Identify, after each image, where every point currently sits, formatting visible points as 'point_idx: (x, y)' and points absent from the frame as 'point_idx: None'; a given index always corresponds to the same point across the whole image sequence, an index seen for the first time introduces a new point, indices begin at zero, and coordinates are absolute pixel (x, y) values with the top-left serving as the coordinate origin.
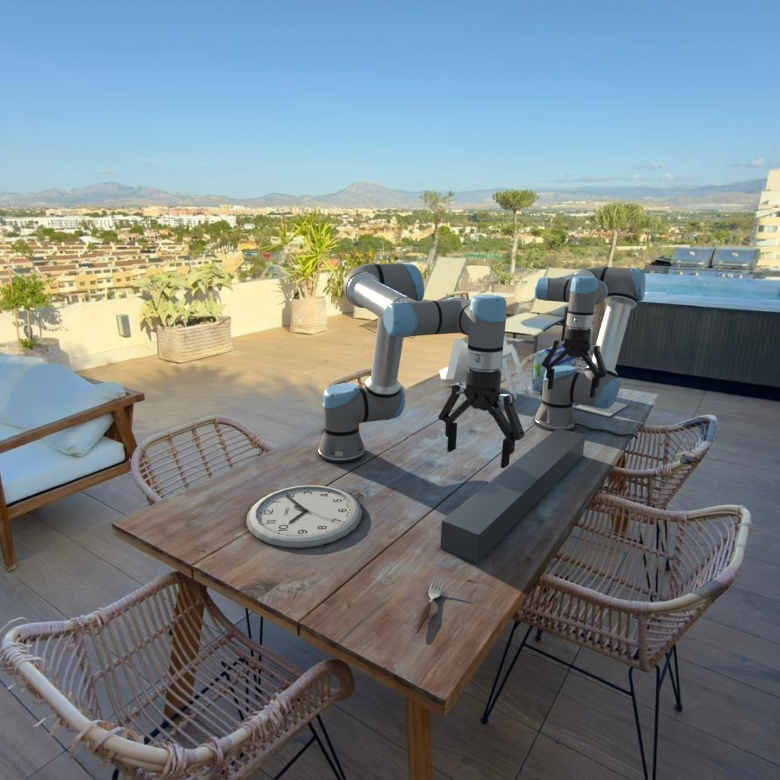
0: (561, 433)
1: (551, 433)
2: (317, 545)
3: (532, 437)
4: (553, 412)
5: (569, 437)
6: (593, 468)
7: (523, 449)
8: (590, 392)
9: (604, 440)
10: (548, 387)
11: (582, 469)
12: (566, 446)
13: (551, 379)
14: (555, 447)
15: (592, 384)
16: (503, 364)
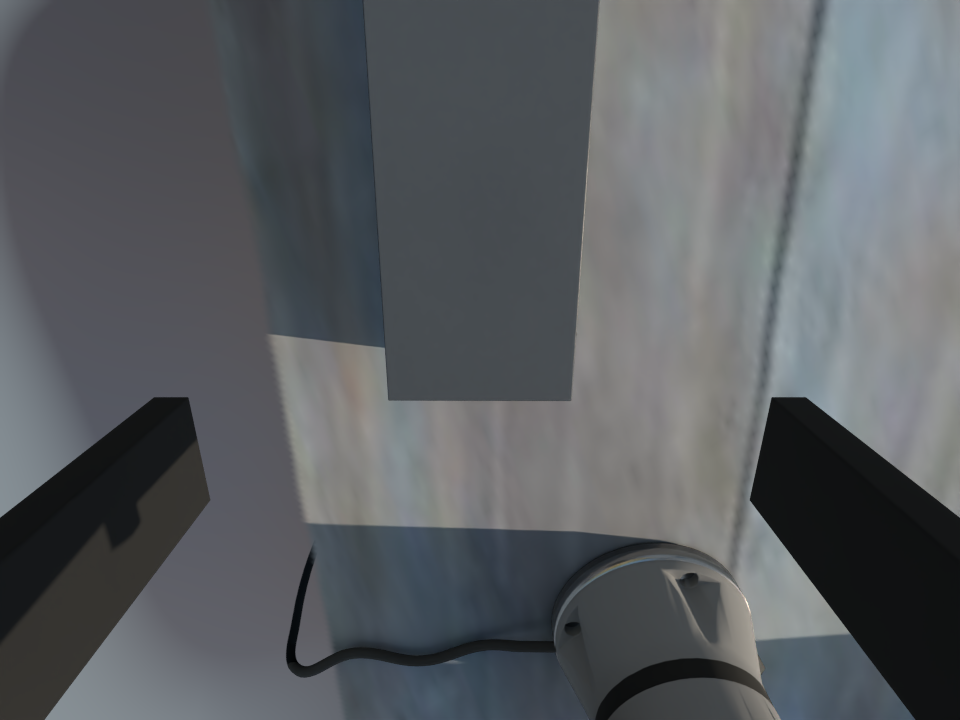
0: (519, 331)
1: (574, 288)
2: None
3: (696, 413)
4: (668, 630)
5: (452, 296)
6: (303, 229)
7: (695, 229)
8: (141, 436)
9: (392, 574)
10: (809, 412)
11: (340, 177)
12: (409, 117)
13: (862, 517)
14: (464, 38)
15: (17, 523)
16: None
